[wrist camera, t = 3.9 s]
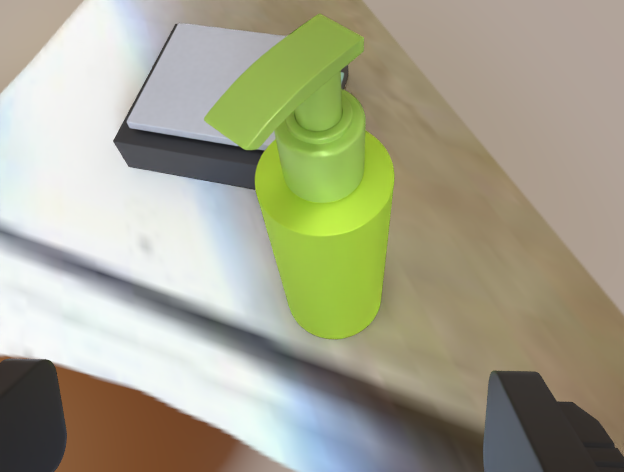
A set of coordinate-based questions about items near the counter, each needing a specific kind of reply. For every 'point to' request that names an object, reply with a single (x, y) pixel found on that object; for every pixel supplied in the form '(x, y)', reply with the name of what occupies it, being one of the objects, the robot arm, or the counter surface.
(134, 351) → the counter surface
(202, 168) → the kitchen scale
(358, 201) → the soap dispenser
